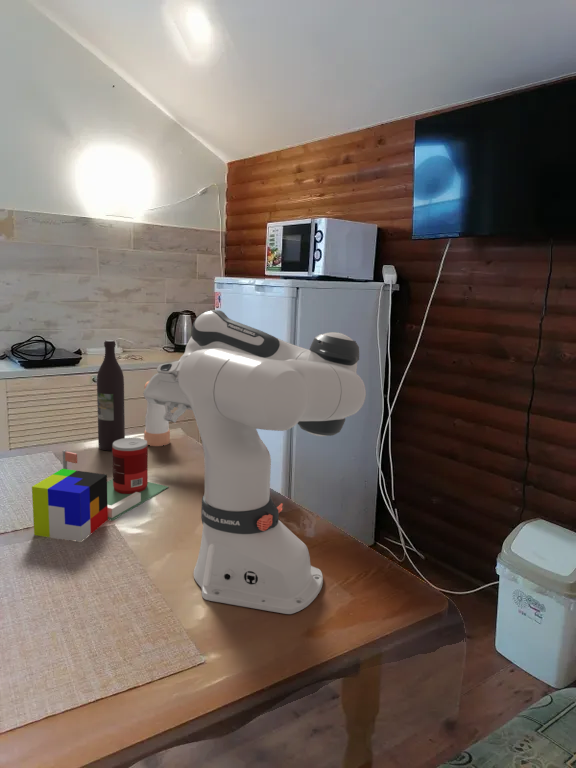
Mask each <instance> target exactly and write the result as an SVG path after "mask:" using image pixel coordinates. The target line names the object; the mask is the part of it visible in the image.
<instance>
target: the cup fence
mask: <svg viewBox="0 0 576 768" xmlns="http://www.w3.org/2000/svg"><path fill="white" fill-rule="evenodd" d="M68 462H69V463H72V464H78V454H77V453H76V452H72V451H67V449H64V450H62V469H68ZM139 502H141V493H139V492H135V493H133V494H132V495H130V496H128V497H126V498H124V499H122V500H121V501H119V502H117V503H115V504H113V505H108V517H111V518H113V517H115V516H116V515H118V514H120V513H122V512H123V511H125V510H127V509H129V508H130V507H132V506H134V505H136V504H137V503H139Z"/></svg>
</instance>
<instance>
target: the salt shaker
mask: <svg viewBox="0 0 576 768" xmlns="http://www.w3.org/2000/svg"><path fill="white" fill-rule="evenodd" d="M149 381H150V380H147V381H146V383H145V384H144V388H143V389H144V390H145V388H146V386H147V384H148V383H149ZM165 413H166V412H165V406H164V405H158V404H152V403H149V402H148V401H147V400H146V413H145V418H144V423H145V430H144V431H143V439H144V440H146V441H147V444H148V445H150V446H149V447H162V446H163V445H164V446H167V445H169V444H170V443H171V431H170V428H169V423H170V421H165V420H164V418H163V417H164V415H165Z"/></svg>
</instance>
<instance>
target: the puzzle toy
mask: <svg viewBox="0 0 576 768" xmlns="http://www.w3.org/2000/svg"><path fill="white" fill-rule="evenodd" d="M107 482H108V474H105V473H100V472H99V473H97V472H91V471H83V470H75V469H68V468H67V469H63V468H61V469H60V470H59V469H58V471H56V472H55V473H52V474H51V475H48V477H46V478H44V479H42V480H40V481H39V482H38V483H35V484H33V485H32V486H31V495H32V496H31V497H32V514H33V515H32V519H33V535H34V536H38V537H45V538H49V539H50V538H51V539H58V540H63V539H66V540H65V541H69V540H76V541H82V540H83V539H85V538H86V537H87V536H88V535H90V534H91V533H92V534H93V533H95V532H96V531H97V530H98V529H99V528H100V527H102V526H103V525H104V524H105V523H106V522H107V521H109V520H108V504H107ZM95 530H96V531H95ZM92 534H91V535H92ZM88 537H89V536H88ZM88 537H87V538H88ZM87 538H86V539H87ZM86 539H85V540H86ZM76 541H75V542H76Z"/></svg>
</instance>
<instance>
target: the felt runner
mask: <svg viewBox="0 0 576 768" xmlns="http://www.w3.org/2000/svg"><path fill="white" fill-rule="evenodd" d="M166 488H167V489H169V486H168V485H163V484H159V483H154V482H151V481H148V484H147V487H146V489H145V490H143V491H141V492H139V493H141V502H139V503H137V504H136V505H134V506H132V507H130V508H129V509H127V510H125V511H123V512H122V513H120V514H118V515H116V516H115V517H113V518H111V517H108V520H107V521H114V520H115V519H117V518H119V517H120V516H122V515H124V514H125V513H127V512H129V511H131V510H133V509H134V508H136V507H138V506H140V505H141V504H143V503H145V502H146V501H148V500H150V499H152V498H153V497H155V496H156V495H159V494H161V493H162V492H164V491H165V490H167V489H166ZM163 490H164V491H163ZM130 495H132V494H122V493H118V492H116V491H115V490H114V487H113V478H112V479H110V480H107V504H108V505H113V504H115V503H117V502H119V501H121V500H122V499H124V498H126V497H128V496H130Z"/></svg>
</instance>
